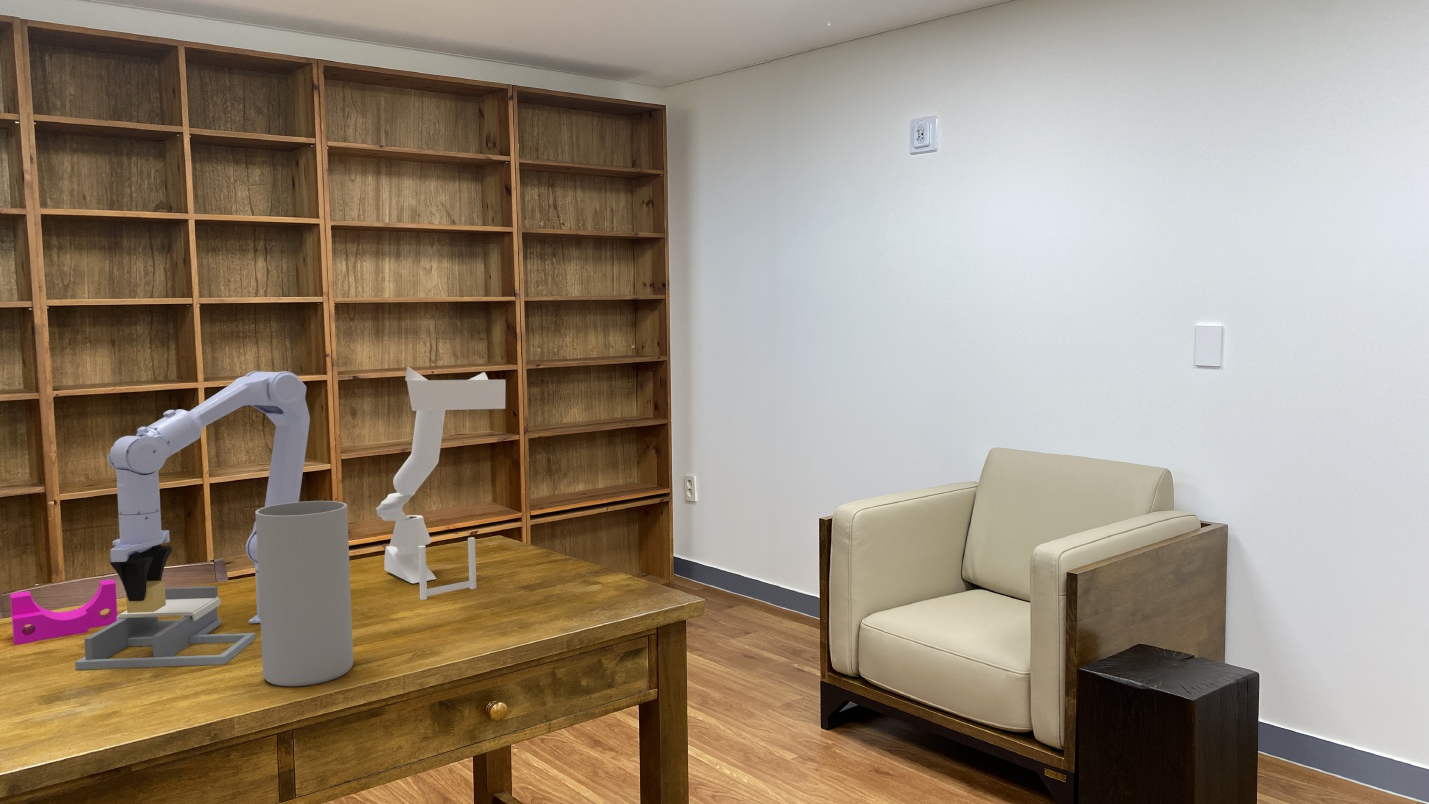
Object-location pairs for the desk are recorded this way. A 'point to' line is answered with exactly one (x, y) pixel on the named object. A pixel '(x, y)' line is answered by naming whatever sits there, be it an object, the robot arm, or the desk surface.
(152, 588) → the block
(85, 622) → the toy block
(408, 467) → the desk lamp
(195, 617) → the cover
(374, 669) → the desk surface
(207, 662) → the gray square frame
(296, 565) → the cylinder vase
